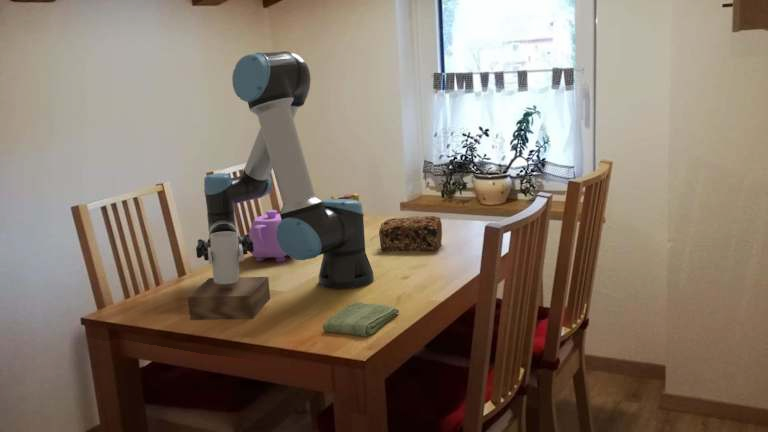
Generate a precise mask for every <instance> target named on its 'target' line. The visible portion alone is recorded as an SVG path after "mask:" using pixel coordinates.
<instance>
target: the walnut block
mask: <svg viewBox="0 0 768 432" xmlns="http://www.w3.org/2000/svg"><path fill="white" fill-rule="evenodd" d="M269 282H270V281H269V276H241V277H240V276H239V280H238V281H237V282H235V283H231V284H217V283H215V282H214V279H213V277H209V278H207V279H206V280H205V281H204V282H203V283H202V284H201V285H199V286H198V287H197V288H196V289H195V290H193V291H192V293H190V294H189V295H188V296H187V303H188V311H189V312H188V313H189V320H190V321H216V320H217V321H218V320H219V321H220V320H223V321H227V320H230V321H231V320H254V319H255V317H256V316H257V315H258V314H259V312H260V311H261V310H262V309H263V308H264V307H265V305H266V304H267V303H268V302H269V301H270V299H271V295H270V292H271V291H270V284H269Z"/></svg>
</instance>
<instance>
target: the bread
mask: <svg viewBox="0 0 768 432" xmlns="http://www.w3.org/2000/svg"><path fill="white" fill-rule="evenodd" d="M442 224H443V223H442V221H441V218H440V217H439V216H435V215H425V216H409V217H397V218H396V217H395V218H389V219H386V220H384V222H381V224H380V227H379V230H378V232H379V233H378V236H379V243H380V244H379V245H380V246H379V247H380V250H381V252H431V251H432V252H433V251H438V250H439V249H440V247H441V246H442V242H443V241H442V237H443V231H442V230H443V228H442V226H443V225H442Z"/></svg>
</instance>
